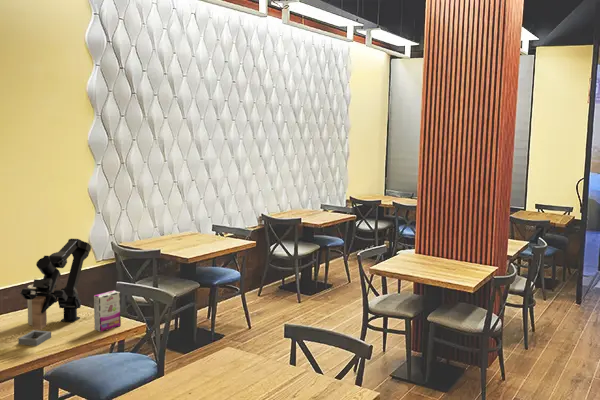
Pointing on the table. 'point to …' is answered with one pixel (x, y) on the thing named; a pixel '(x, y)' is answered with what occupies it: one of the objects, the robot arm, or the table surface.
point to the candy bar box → (107, 311)
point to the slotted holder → (29, 337)
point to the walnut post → (38, 313)
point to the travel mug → (31, 307)
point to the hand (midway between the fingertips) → (37, 312)
